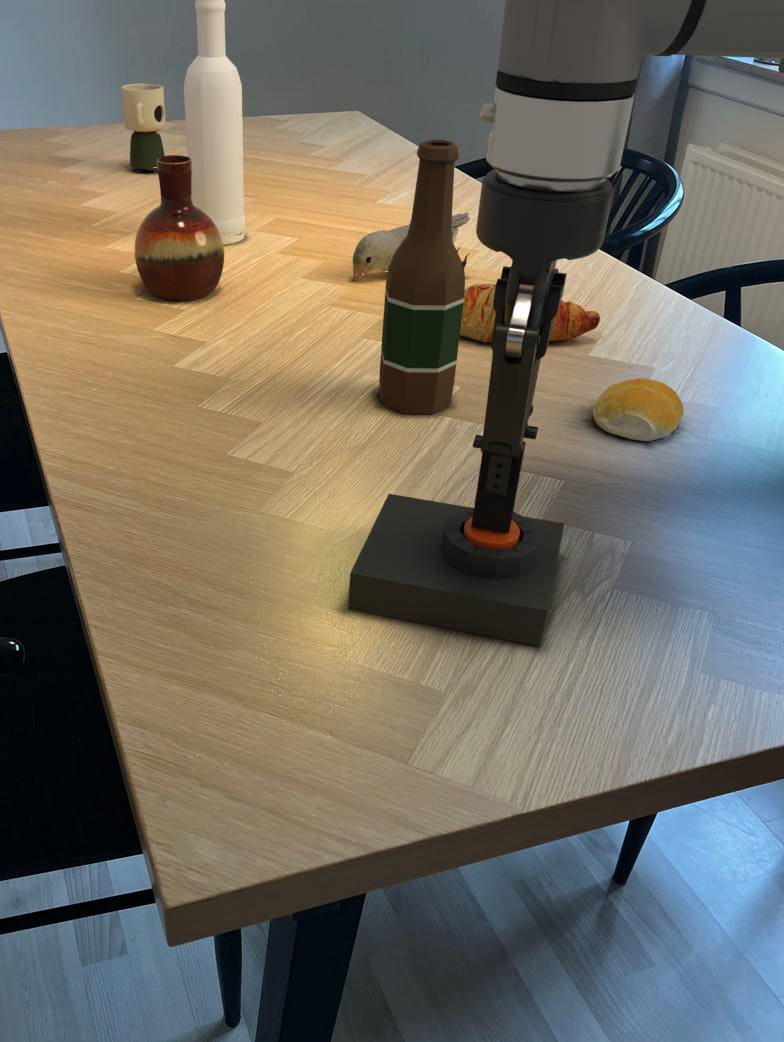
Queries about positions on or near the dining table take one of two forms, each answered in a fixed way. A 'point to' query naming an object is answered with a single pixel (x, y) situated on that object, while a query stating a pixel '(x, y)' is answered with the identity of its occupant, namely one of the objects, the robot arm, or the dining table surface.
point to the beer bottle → (424, 295)
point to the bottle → (215, 125)
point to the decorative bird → (390, 247)
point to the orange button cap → (491, 536)
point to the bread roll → (639, 409)
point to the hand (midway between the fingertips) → (491, 524)
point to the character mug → (144, 123)
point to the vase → (178, 239)
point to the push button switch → (455, 572)
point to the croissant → (482, 314)
